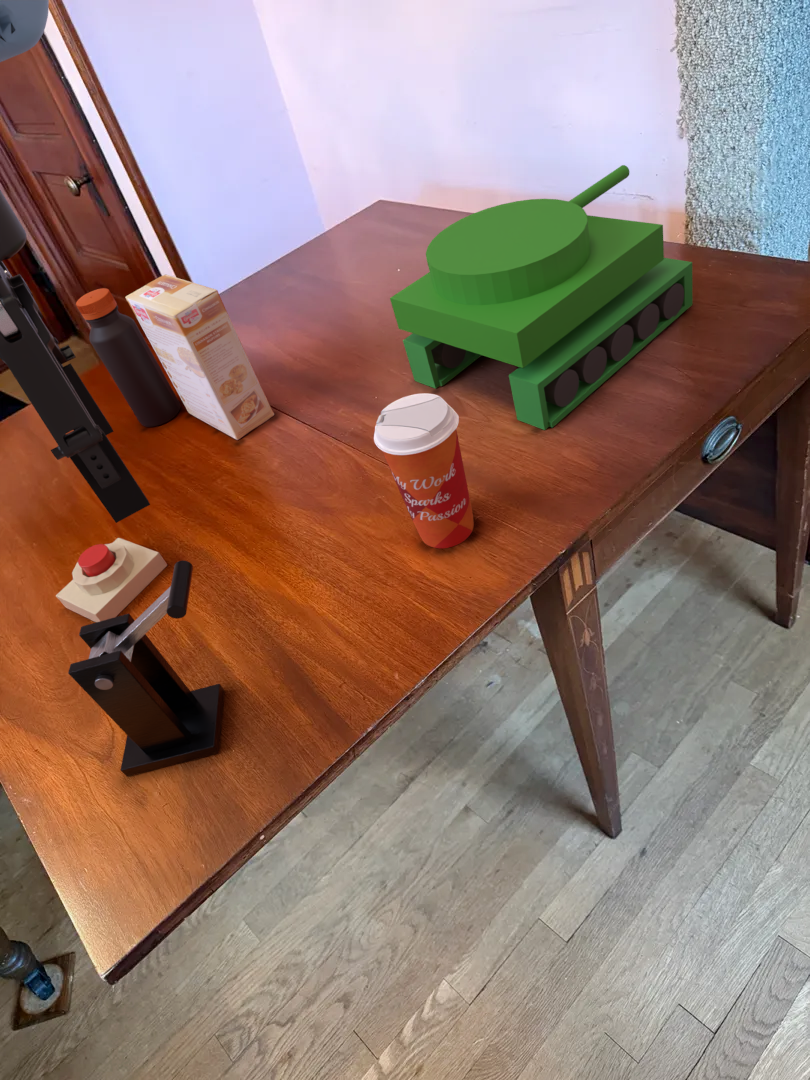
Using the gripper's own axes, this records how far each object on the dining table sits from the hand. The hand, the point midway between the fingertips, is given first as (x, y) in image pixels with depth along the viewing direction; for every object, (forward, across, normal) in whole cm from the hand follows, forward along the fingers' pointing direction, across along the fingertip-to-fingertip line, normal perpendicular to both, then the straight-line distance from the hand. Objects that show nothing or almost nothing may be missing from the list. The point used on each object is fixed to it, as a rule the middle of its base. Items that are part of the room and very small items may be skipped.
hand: (114, 471), depth 59 cm
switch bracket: (+24, -5, +8) cm, 26 cm away
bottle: (+24, +55, -7) cm, 60 cm away
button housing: (+24, +21, +8) cm, 33 cm away
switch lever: (+11, -7, +4) cm, 13 cm away
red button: (+20, +21, +9) cm, 30 cm away
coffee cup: (+24, 0, -26) cm, 35 cm away
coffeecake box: (+24, +45, -15) cm, 53 cm away
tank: (+24, +20, -58) cm, 66 cm away
